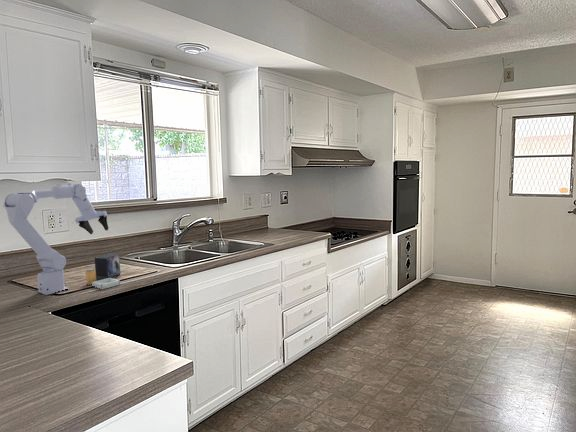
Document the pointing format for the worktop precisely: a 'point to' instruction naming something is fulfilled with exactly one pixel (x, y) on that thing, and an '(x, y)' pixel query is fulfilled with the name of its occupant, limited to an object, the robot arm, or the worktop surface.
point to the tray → (106, 283)
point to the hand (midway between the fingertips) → (99, 231)
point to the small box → (107, 266)
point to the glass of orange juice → (90, 276)
